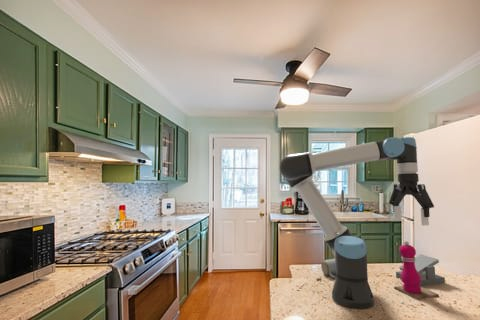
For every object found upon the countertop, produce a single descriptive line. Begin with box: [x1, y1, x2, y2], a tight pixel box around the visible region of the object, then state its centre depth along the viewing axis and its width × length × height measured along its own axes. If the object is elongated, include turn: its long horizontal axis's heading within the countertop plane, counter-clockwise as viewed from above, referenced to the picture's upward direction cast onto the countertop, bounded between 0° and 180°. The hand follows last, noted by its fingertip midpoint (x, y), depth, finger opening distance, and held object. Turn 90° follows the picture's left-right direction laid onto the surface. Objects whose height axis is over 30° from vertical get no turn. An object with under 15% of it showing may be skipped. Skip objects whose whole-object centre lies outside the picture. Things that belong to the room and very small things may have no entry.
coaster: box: [393, 285, 440, 300], centre depth 110 cm, size 11×11×1 cm
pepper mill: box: [398, 240, 422, 293], centre depth 111 cm, size 7×7×20 cm
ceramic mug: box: [320, 258, 336, 280], centre depth 131 cm, size 11×8×8 cm
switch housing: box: [395, 265, 446, 287], centre depth 124 cm, size 15×13×8 cm
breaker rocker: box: [398, 253, 440, 275], centre depth 124 cm, size 14×9×4 cm, turn 104°
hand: (410, 223), depth 113 cm, fingers open, 13 cm apart
